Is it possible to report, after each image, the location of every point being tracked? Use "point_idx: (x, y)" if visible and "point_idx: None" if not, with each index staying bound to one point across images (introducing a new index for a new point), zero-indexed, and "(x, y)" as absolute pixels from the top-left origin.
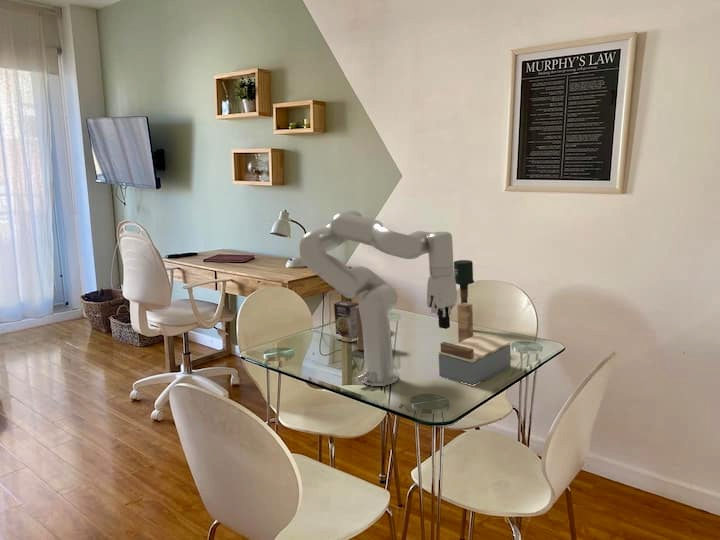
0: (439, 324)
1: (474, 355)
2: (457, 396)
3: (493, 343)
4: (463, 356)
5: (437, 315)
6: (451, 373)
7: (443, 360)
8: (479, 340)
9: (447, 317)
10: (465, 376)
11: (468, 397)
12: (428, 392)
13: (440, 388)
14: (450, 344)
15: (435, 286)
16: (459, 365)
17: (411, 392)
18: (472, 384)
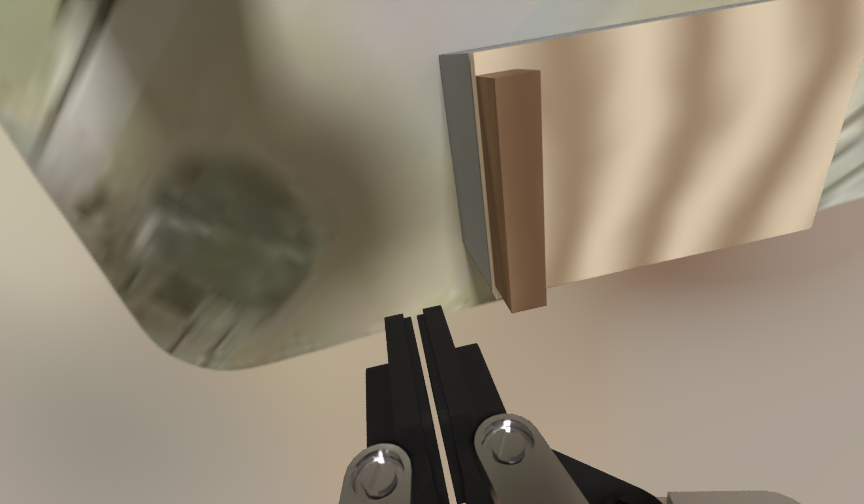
0: (366, 374)
1: (555, 257)
2: (357, 268)
3: (761, 188)
4: (493, 253)
5: (353, 467)
6: (455, 140)
7: (463, 94)
8: (780, 92)
9: (456, 494)
10: (467, 219)
11: (383, 295)
12: (280, 169)
13: (351, 170)
14: (523, 154)
15: None
16: (475, 204)
17: (207, 116)
18: (464, 241)
